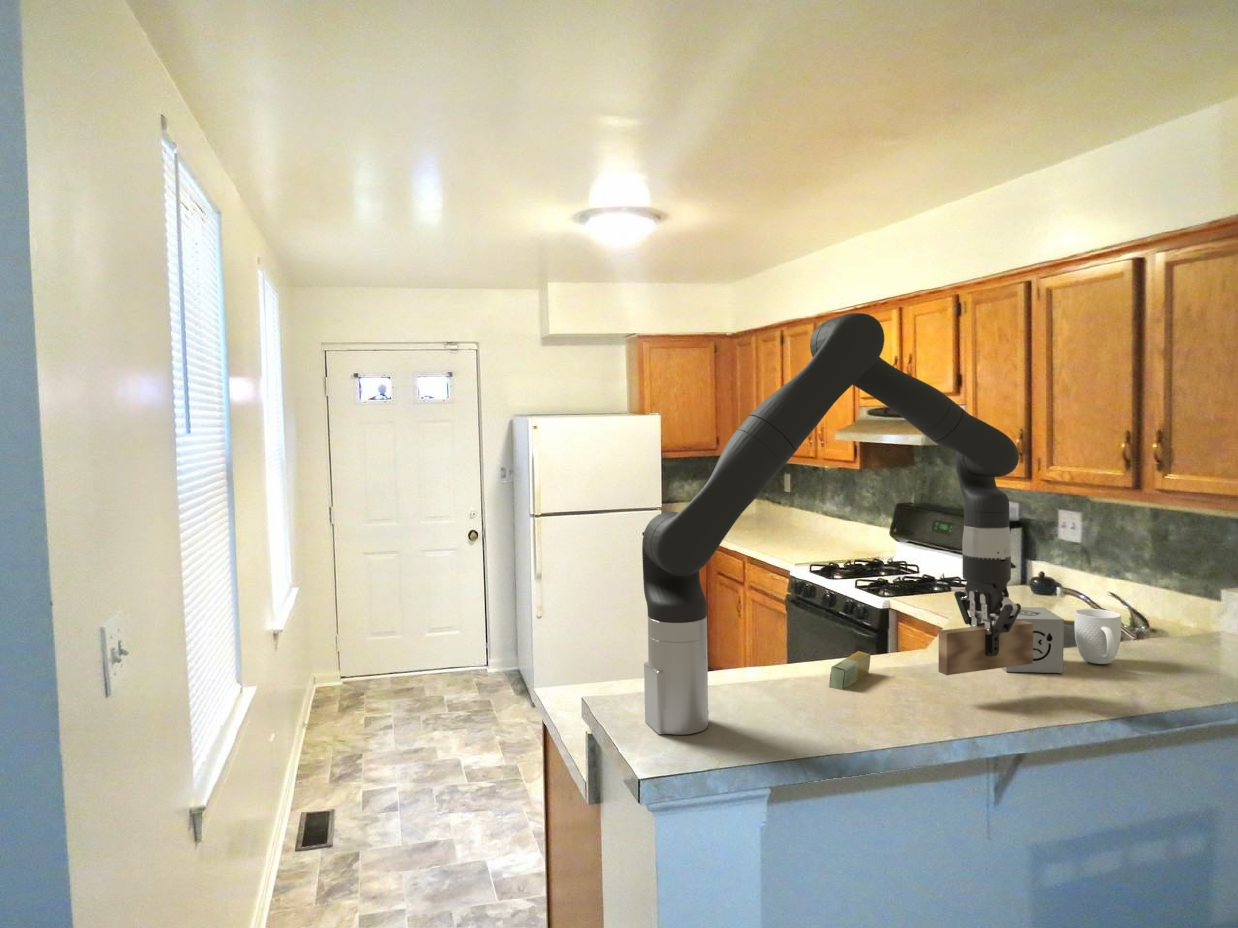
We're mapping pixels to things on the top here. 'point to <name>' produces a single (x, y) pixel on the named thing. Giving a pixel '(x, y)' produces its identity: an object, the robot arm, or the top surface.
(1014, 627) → the walnut screen
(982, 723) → the top surface
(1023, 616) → the icon cube
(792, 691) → the top surface
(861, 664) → the medication box
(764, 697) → the top surface
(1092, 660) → the mug
